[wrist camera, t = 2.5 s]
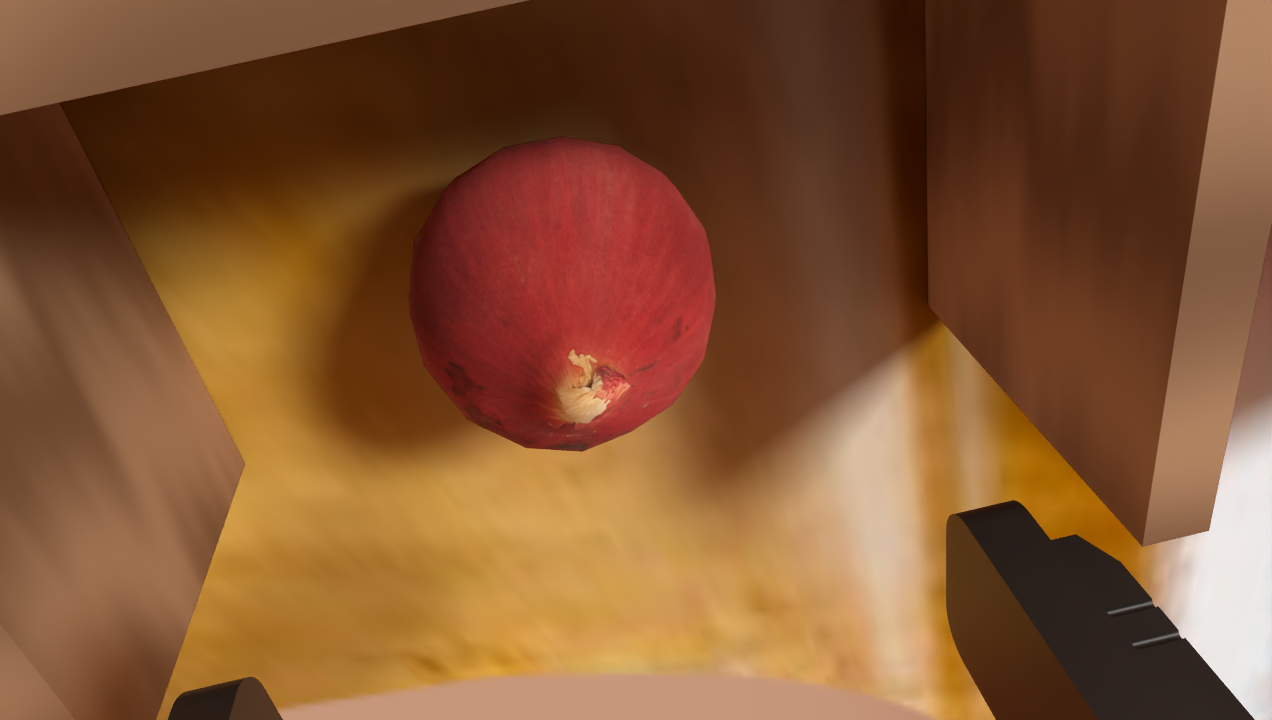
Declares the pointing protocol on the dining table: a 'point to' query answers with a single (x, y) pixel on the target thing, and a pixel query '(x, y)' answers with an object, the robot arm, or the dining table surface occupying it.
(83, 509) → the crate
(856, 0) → the dining table surface
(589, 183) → the onion
